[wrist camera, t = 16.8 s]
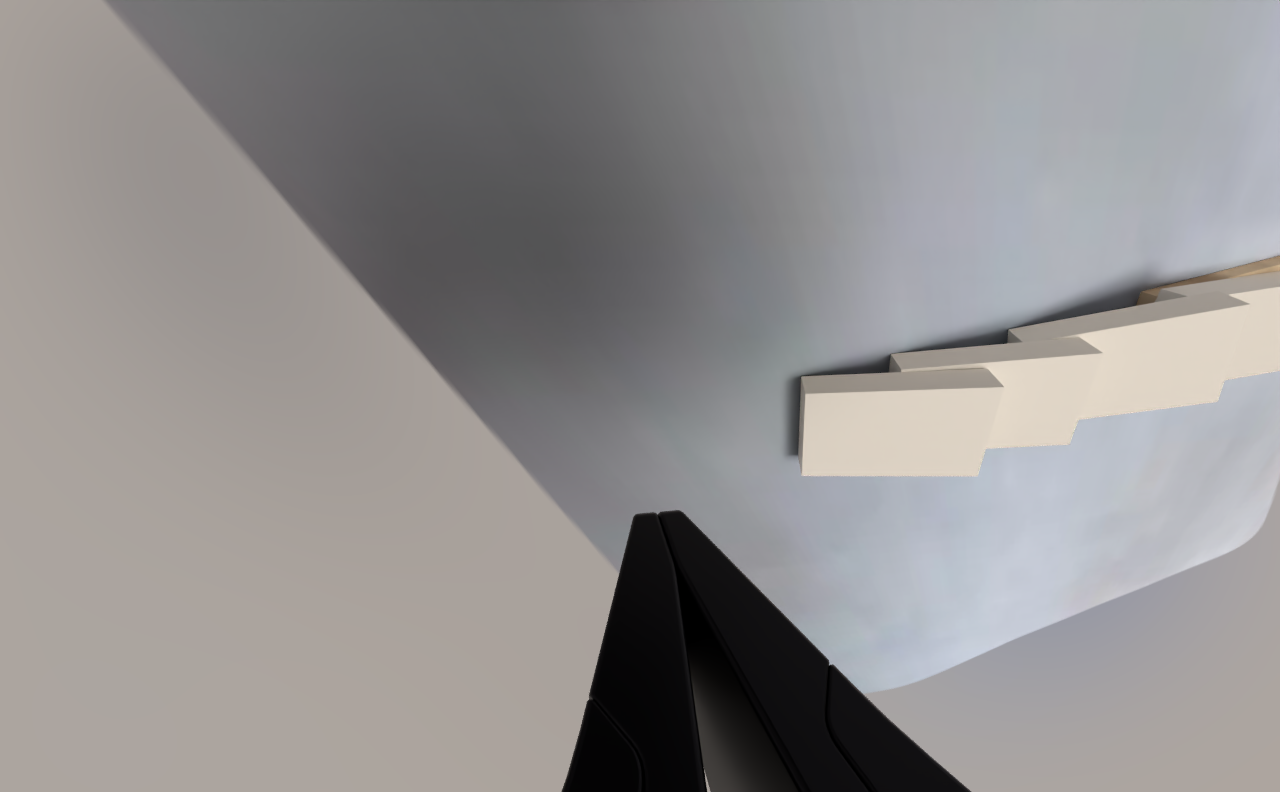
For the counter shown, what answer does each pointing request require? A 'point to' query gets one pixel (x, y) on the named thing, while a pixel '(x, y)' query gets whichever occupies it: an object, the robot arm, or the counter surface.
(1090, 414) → the domino
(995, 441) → the domino
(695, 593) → the robot arm
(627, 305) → the counter surface
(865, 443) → the domino
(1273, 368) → the domino
